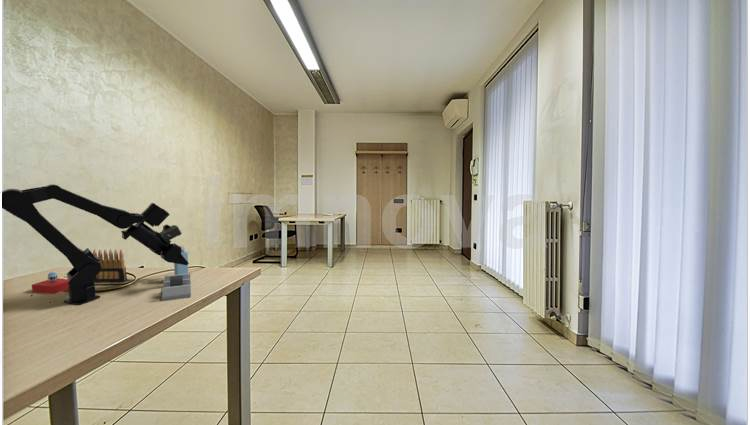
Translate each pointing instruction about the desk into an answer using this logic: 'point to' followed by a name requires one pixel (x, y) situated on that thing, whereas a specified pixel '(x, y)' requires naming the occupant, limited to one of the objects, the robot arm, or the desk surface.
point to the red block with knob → (51, 285)
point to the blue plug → (179, 267)
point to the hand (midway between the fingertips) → (183, 261)
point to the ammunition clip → (111, 267)
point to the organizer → (176, 287)
